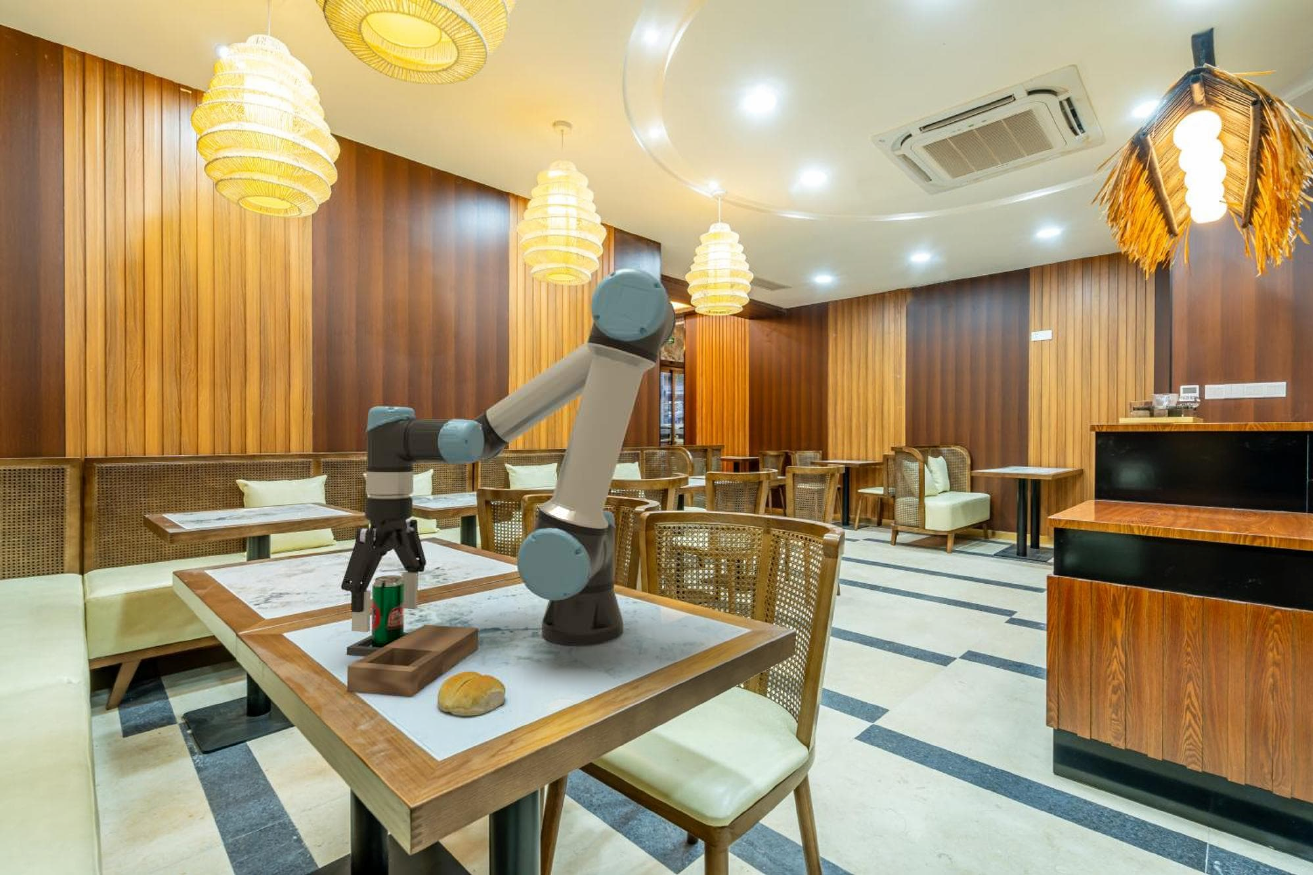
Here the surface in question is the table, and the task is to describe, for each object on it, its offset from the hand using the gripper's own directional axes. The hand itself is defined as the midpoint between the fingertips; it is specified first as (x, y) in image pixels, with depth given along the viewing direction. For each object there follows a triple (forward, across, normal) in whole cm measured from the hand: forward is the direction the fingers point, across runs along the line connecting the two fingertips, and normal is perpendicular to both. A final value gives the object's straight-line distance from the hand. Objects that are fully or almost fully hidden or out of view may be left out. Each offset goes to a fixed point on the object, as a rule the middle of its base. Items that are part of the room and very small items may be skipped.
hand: (386, 619), depth 104 cm
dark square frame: (+5, 0, 0) cm, 5 cm away
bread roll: (+5, +18, +25) cm, 31 cm away
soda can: (+5, 0, 0) cm, 5 cm away
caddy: (+5, +8, +11) cm, 14 cm away
